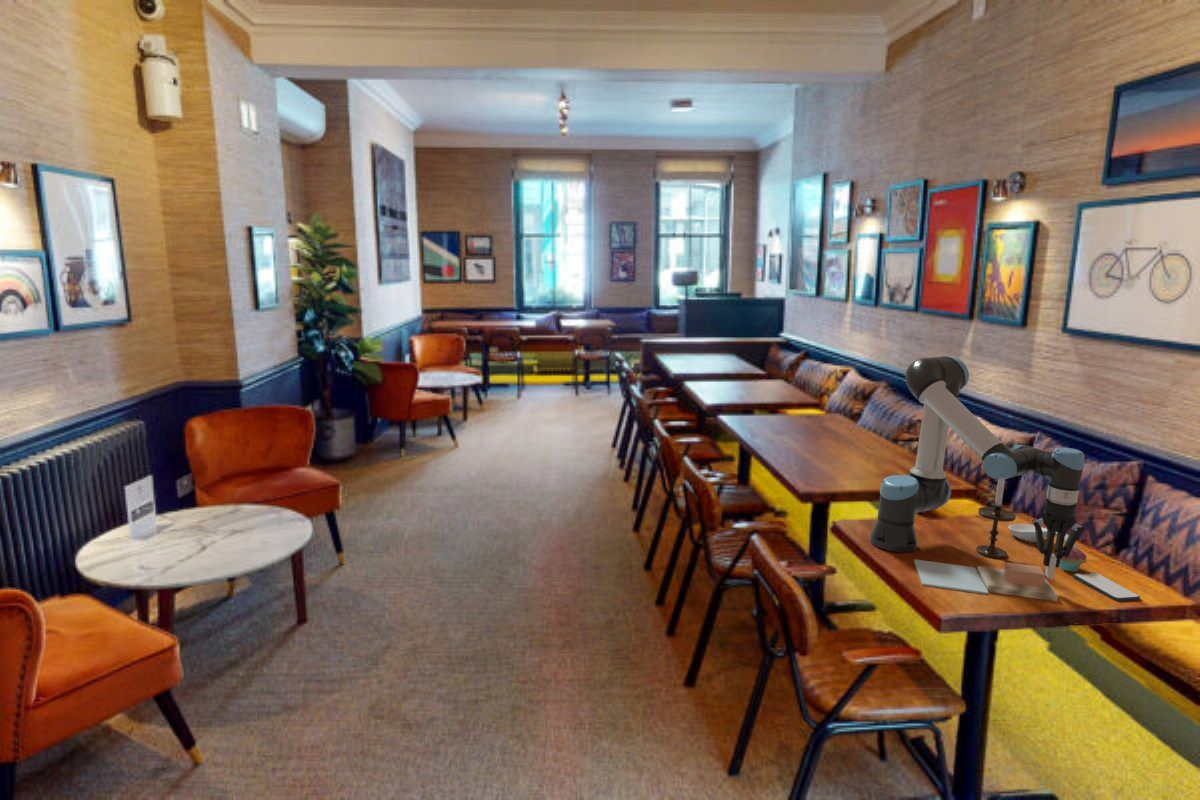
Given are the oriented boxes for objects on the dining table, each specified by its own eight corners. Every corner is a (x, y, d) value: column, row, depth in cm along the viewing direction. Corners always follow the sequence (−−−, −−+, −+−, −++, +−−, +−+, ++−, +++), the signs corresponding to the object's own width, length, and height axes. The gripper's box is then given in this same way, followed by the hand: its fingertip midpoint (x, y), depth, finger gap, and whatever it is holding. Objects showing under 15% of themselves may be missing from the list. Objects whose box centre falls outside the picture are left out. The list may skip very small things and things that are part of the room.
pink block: (1009, 582, 204) (1011, 570, 203) (1004, 574, 210) (1005, 562, 209) (1043, 587, 201) (1045, 574, 201) (1037, 578, 207) (1039, 566, 206)
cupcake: (1069, 575, 214) (1075, 539, 212) (1045, 564, 222) (1051, 529, 220) (1090, 572, 217) (1097, 537, 214) (1066, 561, 225) (1072, 527, 222)
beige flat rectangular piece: (987, 591, 203) (988, 585, 202) (976, 571, 216) (977, 565, 215) (1056, 601, 197) (1057, 594, 197) (1041, 580, 211) (1042, 574, 210)
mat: (922, 585, 206) (922, 583, 206) (913, 561, 223) (914, 559, 223) (988, 594, 201) (988, 592, 201) (974, 569, 218) (974, 567, 217)
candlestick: (1000, 547, 235) (1014, 449, 228) (1016, 560, 224) (1031, 458, 218) (967, 545, 236) (980, 447, 229) (981, 558, 225) (995, 456, 219)
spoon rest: (999, 534, 248) (1002, 515, 246) (1023, 531, 251) (1026, 512, 250) (1061, 561, 226) (1064, 540, 224) (1087, 557, 229) (1090, 537, 228)
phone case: (1141, 602, 200) (1095, 576, 215) (1142, 597, 199) (1096, 571, 215) (1115, 603, 198) (1070, 578, 214) (1116, 598, 198) (1071, 573, 213)
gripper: (1040, 502, 197) (1028, 578, 202) (1092, 508, 193) (1078, 585, 198) (1032, 494, 204) (1020, 567, 209) (1082, 499, 200) (1069, 574, 205)
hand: (1049, 576), depth 203 cm, fingers closed
